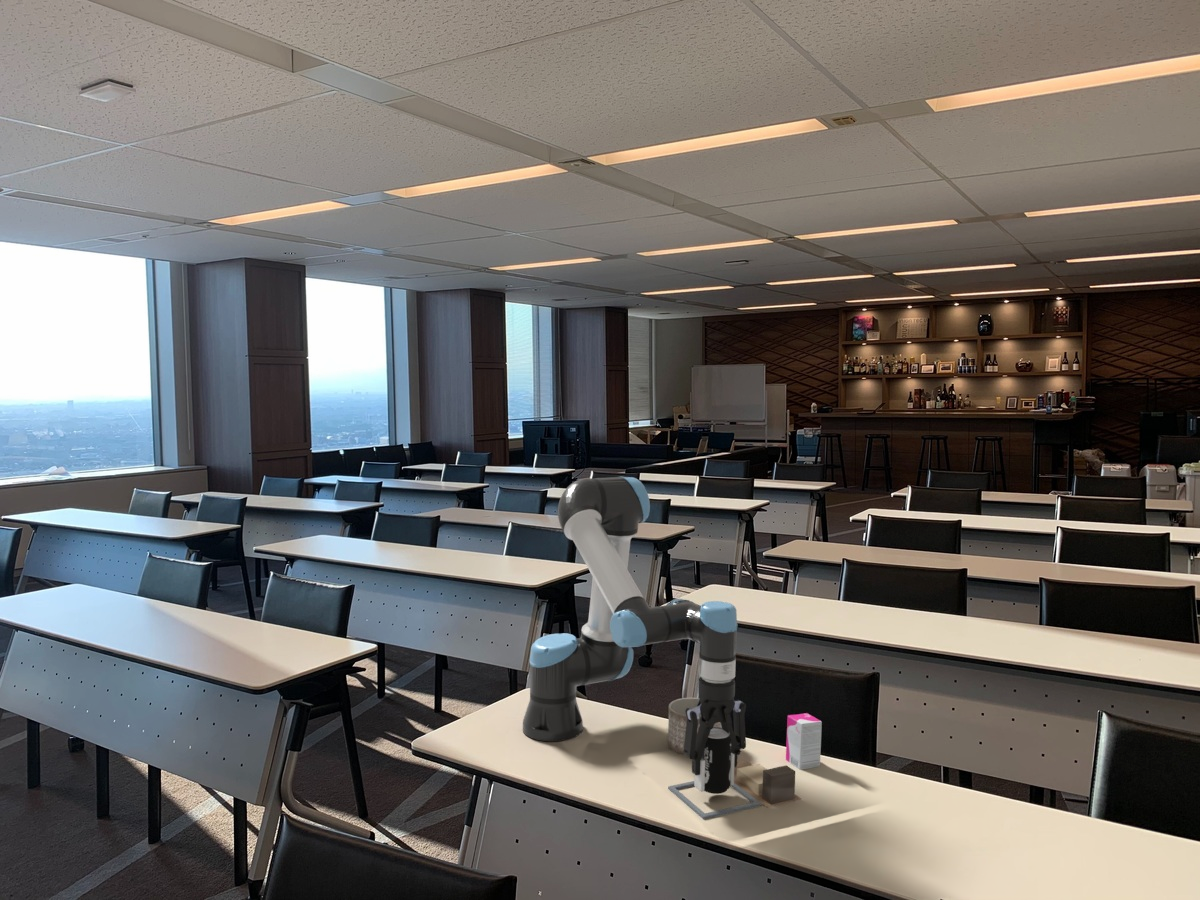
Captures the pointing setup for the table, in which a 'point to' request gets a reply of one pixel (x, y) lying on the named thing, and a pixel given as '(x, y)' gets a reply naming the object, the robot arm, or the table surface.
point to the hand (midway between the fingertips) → (714, 785)
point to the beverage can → (717, 761)
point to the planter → (680, 722)
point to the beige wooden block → (752, 777)
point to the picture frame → (720, 812)
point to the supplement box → (803, 741)
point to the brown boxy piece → (772, 785)
